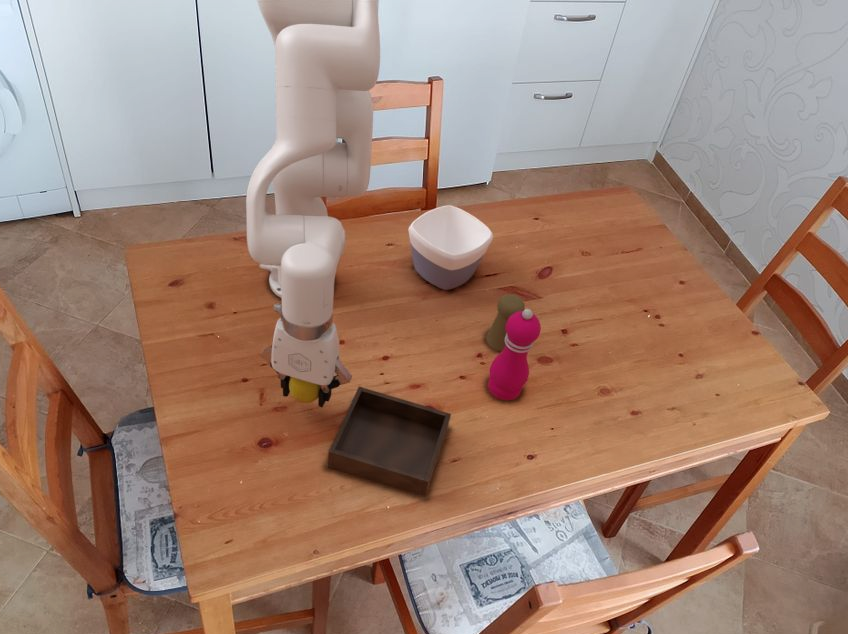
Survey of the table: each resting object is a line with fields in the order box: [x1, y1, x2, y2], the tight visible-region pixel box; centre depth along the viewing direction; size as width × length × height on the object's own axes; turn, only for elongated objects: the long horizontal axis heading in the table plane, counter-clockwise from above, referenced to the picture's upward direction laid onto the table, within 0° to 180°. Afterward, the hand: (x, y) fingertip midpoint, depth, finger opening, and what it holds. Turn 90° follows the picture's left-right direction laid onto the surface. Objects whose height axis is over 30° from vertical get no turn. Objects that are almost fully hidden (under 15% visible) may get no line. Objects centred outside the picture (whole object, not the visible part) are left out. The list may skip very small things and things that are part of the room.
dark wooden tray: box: [327, 386, 452, 497], centre depth 121 cm, size 17×15×4 cm
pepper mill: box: [487, 308, 542, 401], centre depth 129 cm, size 7×7×20 cm
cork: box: [485, 293, 526, 353], centre depth 141 cm, size 6×6×11 cm
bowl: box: [407, 204, 494, 291], centre depth 153 cm, size 15×15×11 cm
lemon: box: [289, 376, 321, 404], centre depth 121 cm, size 6×6×8 cm
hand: (306, 395), depth 123 cm, fingers closed on lemon, 5 cm apart
